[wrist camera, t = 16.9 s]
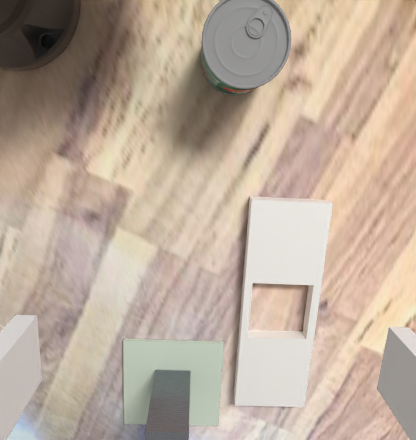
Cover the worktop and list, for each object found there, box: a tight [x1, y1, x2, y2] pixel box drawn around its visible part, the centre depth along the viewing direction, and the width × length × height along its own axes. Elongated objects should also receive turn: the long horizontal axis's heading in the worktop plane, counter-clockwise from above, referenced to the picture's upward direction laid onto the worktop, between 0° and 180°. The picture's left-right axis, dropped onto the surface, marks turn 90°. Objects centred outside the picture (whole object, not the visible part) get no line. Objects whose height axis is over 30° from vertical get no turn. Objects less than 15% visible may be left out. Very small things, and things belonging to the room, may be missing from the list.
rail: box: [234, 196, 333, 407], centre depth 51 cm, size 10×30×2 cm, turn 177°
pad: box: [123, 338, 224, 426], centre depth 55 cm, size 14×14×1 cm
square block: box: [145, 370, 191, 440], centre depth 49 cm, size 5×5×11 cm
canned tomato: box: [201, 0, 291, 95], centre depth 39 cm, size 8×8×11 cm
